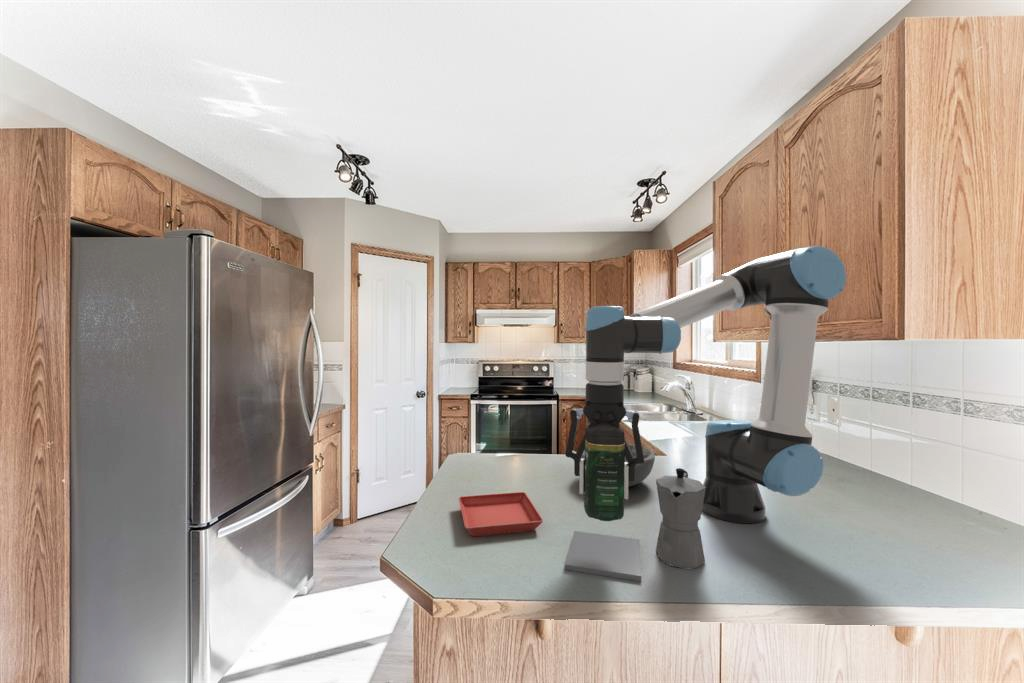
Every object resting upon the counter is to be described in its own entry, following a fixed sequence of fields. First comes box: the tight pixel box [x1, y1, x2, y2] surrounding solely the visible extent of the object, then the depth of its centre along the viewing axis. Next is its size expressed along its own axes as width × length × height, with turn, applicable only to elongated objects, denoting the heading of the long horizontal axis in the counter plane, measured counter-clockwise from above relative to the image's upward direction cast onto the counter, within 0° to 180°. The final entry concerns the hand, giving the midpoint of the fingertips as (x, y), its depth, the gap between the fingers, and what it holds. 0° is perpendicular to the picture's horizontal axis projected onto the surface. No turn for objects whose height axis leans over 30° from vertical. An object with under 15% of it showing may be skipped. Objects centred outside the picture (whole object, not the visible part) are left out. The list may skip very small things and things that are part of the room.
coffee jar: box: [583, 422, 626, 522], centre depth 82 cm, size 10×8×19 cm
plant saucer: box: [458, 491, 544, 537], centre depth 99 cm, size 18×18×3 cm
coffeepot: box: [655, 467, 706, 569], centre depth 83 cm, size 15×9×18 cm, turn 151°
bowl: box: [581, 443, 656, 488], centre depth 125 cm, size 23×22×10 cm
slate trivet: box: [564, 530, 642, 582], centre depth 83 cm, size 14×14×1 cm
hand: (603, 493), depth 82 cm, fingers closed on coffee jar, 8 cm apart
